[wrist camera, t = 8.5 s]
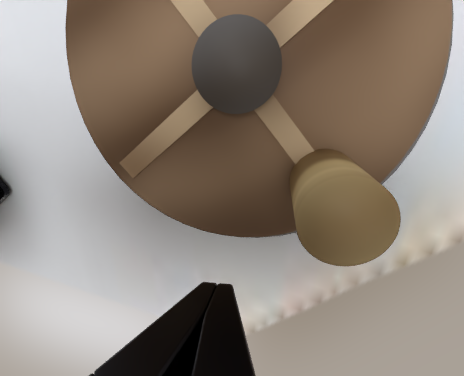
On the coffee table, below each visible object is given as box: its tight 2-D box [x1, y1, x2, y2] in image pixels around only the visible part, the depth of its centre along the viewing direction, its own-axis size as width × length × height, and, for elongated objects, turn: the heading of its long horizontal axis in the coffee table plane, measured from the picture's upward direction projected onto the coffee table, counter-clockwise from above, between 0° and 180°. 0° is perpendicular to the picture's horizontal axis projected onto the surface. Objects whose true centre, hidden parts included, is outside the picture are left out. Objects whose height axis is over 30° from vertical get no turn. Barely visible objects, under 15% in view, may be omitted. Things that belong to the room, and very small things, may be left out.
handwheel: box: [66, 0, 452, 266], centre depth 10 cm, size 16×16×6 cm
